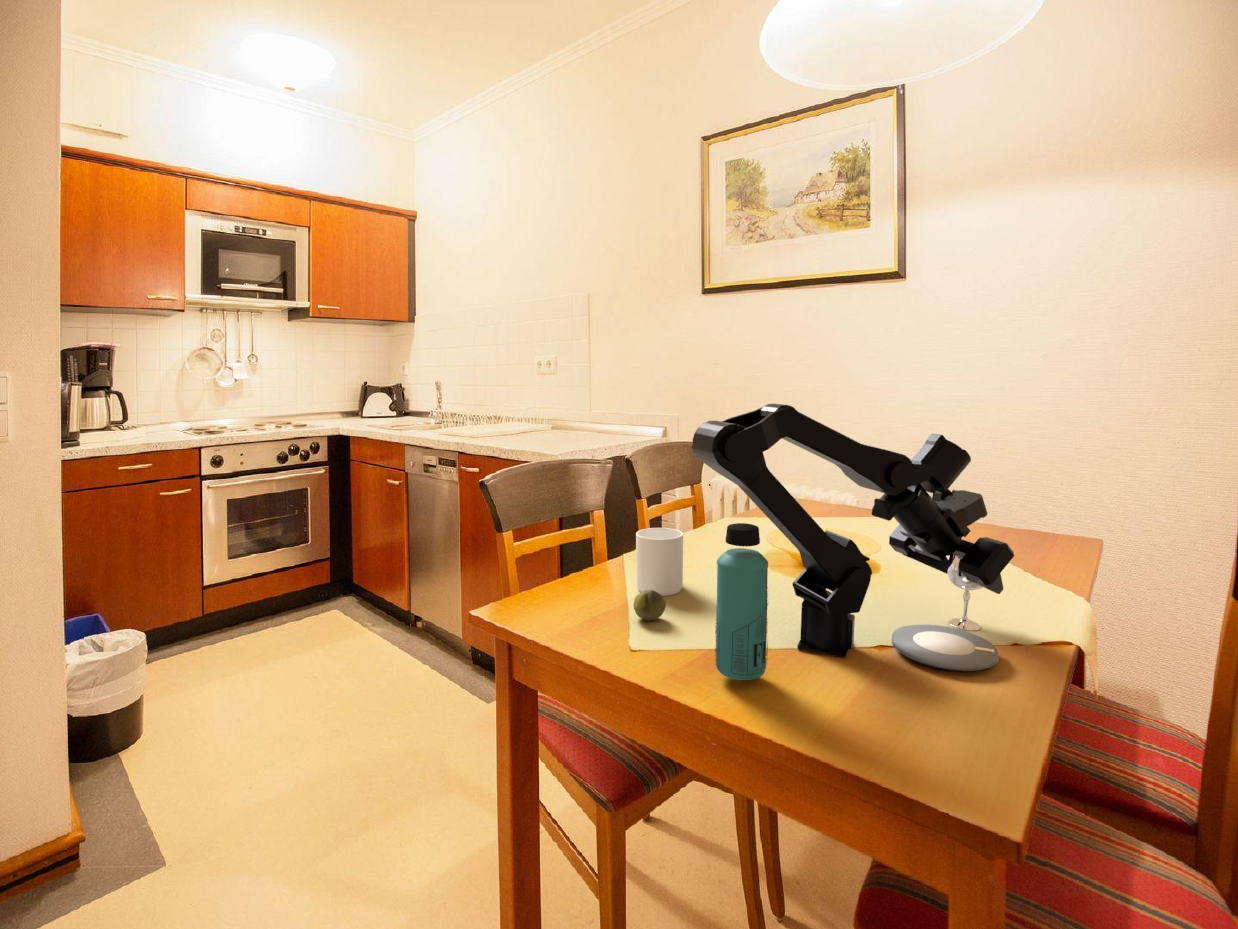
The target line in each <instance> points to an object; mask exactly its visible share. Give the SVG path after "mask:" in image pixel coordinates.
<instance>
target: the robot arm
mask: <svg viewBox="0 0 1238 929" xmlns="http://www.w3.org/2000/svg"><path fill="white" fill-rule="evenodd" d="M780 440H784V441H786V442H788V443H790V444H793V445H795V446H797V447H798V448H801V449H802V450H805V451H807V452H809V453H811V454H813V455H815V456H817V457H819V458H821V459H823V460H825V461H827V462H829V463H832V464H833V465H835V466H836V467H838V468H839V469H840V470H841V471H842V472H843V474H844V476H845V477H847V478H849V479H850V480H851V481H852V482H854V483H855V484H856V485H858V486H859V487H860V488H865V489H869V490H871V491H876V492H879V493H883V494H882V495H881V496H880V498H874V500H873V501H874V502H873V504H874V505H873V507H872V508H871V509H872V510H871V515H872V516H873V517H875V518H879V519H882V520H884V521H885V520H886V521H892V519H893V518H894V519H895V520H896V522H897V523H898V525H897V527H896V528H895V529H894V530H893V531H892V533H890V535H889V537H888V538H889V541H888V545H889V546H890V547H891V548H892V549H893V550H894V551H895V552H896V553H899V554H902V555H903V556H905V557H907V558H909V559H912V560H914V561H916V562H919V563H921V564H923V565H925V566H928V567H930V568H933V569H935V570H938V571H939V572H942V573H944V574H945V575H948V573H947V566H948V560H949V558H947V557H950V555H951V554H954V555H957V556H960V557H963V558H962V559H961V560H960V564H959V571H960V572H961V573H962V574H963V575H964V576H965V577H967V578H966V579H967V580H969V581H971V582H973V583H975V584H977V585H980V586H982V587H983V588H985V589H986V590H988V591H991V592H993V593H995V594H997V595H1000V594H1001V593H1002V592H1003V591H1004V585H1003V584H1004V583H1003V579H1002V575H1001V573H1002V572H1003V570H1004V569H1005V568H1006V567H1007V565H1008V564H1009V563H1010V562H1011V561H1012V560H1013V558H1014V557H1015V552H1014V550H1013V549H1012V547H1010V545H1009V544H1008V543H1007V542H1004V541H1002V540H1001V541H1000V540H998V539H993V538H990V537H987V536H986V537H985V536H984V537H979V538H978V539H977V540H976V541H975V542H971V541H968V540H966V539H965V540H964V539H963V538H966V537H967V536H968V535H969V533H970V532H971V530H970V528H969V526H970V525H972V524H974V523H975V522H977V521H979V520H980V519H983V518H986V517H987V516H988V514H989V513H988V510H987V507H986V504H985V500H984V498H983V494H981V493H978V492H972V491H969V490H964V489H963V490H960V489H959V490H956V489H953V490H950V489H949V488H951V486H952V484H954V482H955V481H956V480H957V479H958V478H959V477H960V475H961V474H962V473H963V472H964V470H965V469H966V468H967V466H968V465H969V464H970V463H971V461H972V458H971V456H970V453H969V452H968V451H967V450H966V449H964V448H962V447H960V445H958V444H956V443H954V442H952V441H950V440H948V439H947V438H946V437H945V436H944V435H943V434H938V433H931V434H930V435H929V436H928V438H927V439H926V440H925V442H924V444H922V446H921V448H920V449H919V450H918V451H917V452H916V454H914V455H913V457H912V458H909V457H908V456H907V455H905V454H903V453H900V452H897V451H893V450H888V449H885V448H884V449H883V448H880V447H875V446H872V445H868V444H864V443H860V442H859V441H857V440H854V439H853V438H850V437H849V436H847V435H845V434H843V433H840V432H839V431H838V430H835V429H833V428H832V427H829V426H827V425H825V424H823V423H821V422H819V421H817V420H815V419H813V418H811V417H810V416H807V415H806V414H804V413H802V412H800V411H798V410H797V409H796V408H795V407H794V406H792V405H788V404H781V403H767V404H765V405H764V406H762V407H759V408H757V409H755V410H752V411H749V412H746V413H742V414H739V415H735V416H732V417H729V418H726V419H724V420H708V421H706V422H703V423H702V424H701V425H699V426H698V427H697V429H696V430H695V432H694V434H693V437H692V445H691V449H692V452H693V454H694V455H695V457H696V458H697V459H698V460H699V461H700V462H702V463H703V464H705V465H706V466H708V468H710V469H712V470H713V471H714V472H716V473H717V474H719V475H720V476H722V477H724V478H725V479H727V480H729V481H730V482H732V483H733V484H735V485H736V486H738V487H739V488H740V490H742V491H743V493H744V494H745V495H746V496H747V498H748V499H750V500H751V501H752V502H753V504H755V505H756V507H758V509H759V510H760V511H761V512H762V513H764V515H765V516H766V517H767V518H768V519H769V520H770V521H771V523H772V524H773V525H774V526H775V527H776V528H777V529H778V530H779V531H780V532H781V534H783V535H784V536H785V538H786V539H787V540H788V541H789V542H790V543H791V544H792V545H793V546H794V547H795V548H796V550H797V551H798V552H799V555H800V558H801V559H800V560H801V563H802V566H803V567H804V569H803V570H802V571H801V572H800V574H799V575H798V576H797V577H796V578H795V580H793V582H792V587H793V591H794V594H795V596H797V597H800V599H803V601H802V603H801V613H800V614H801V615H800V617H801V618H800V639H799V641H798V643H797V645H796V646H797V647H796V648H797V649H798V650H800V651H806V652H812V653H816V654H821V655H827V656H833V657H839V658H847V656H848V652H849V650H851V649H852V648H853V646H854V645H853V644H854V641H855V640H854V638H855V622H856V619H855V618H856V617H855V614H856V613H860V611H861V608H862V606H863V604H864V601H865V598H866V595H867V591H868V589H869V587H870V583H871V578H872V575H873V571H872V567H871V566H870V564H869V563H868V561H870V559H871V558H870V557H868V556H866V555H864V554H863V553H862V552H861V550H860V549H859V547H858V545H857V544H856V542H854V540H853V539H850V538H848V537H845V536H842V535H840V534H837V533H835V532H833V531H830V530H827V529H826V530H825V531H824V529H823V528H822V527H821V526H820V525H819V524H818V523H817V522H816V521H815V520H814V518H812V516H811V515H810V514H809V513H808V512H807V511H806V510H805V508H804V507H803V506H802V505H801V503H799V501H797V500H796V498H795V497H794V496H793V495H792V494H791V493H790V491H788V489H787V488H786V487H785V486H784V485H783V484H782V483H781V482H780V481H779V480H778V478H777V477H776V476H774V474H773V473H772V472H771V471H770V468H768V466H767V462H766V459H765V455H764V452H765V451H767V450H769V449H771V448H772V447H773V446H774V445H776V444H777V443H779V441H780ZM929 493H930V494H932V497H931V495H930V494H929Z"/></svg>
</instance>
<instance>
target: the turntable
mask: <svg viewBox="0 0 1238 929" xmlns="http://www.w3.org/2000/svg"><path fill="white" fill-rule="evenodd" d="M891 645H892V646H893V648H894V649H895V650H896V651H897V652H898V653H900V654H901V655H903V656H905V657H906V658H909V659H911V660H912V661H914V660H915V662H916V661H918V662H920V663H919V664H921V663H923V664H927V665H930V666H934V667H939V668H944V669H950V670H961V671H965V672H972V671H982V670H987V669H989V668H993V667H994V666H995V665H997V663H998V661H999V650H998V648H997V647H996V645H995V644H993V643H992V642H990V641H989V640H987V639H986V638H983V637H981V636H980V635H977V634H974V633H972V632H969V631H967V630H962V629H958V628H955V627H950V626H944V625H936V624H911V625H910V624H909V625H904V626H901V627H898V628H897V629H895V630H894V631H893V632H892V634H891ZM918 662H917V663H918ZM923 664H922V665H923Z"/></svg>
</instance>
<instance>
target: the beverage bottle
mask: <svg viewBox="0 0 1238 929" xmlns="http://www.w3.org/2000/svg"><path fill="white" fill-rule="evenodd" d="M725 533H726V535H725V543H726V544H728V545H731V546H736V547H737V548H729V549H727V550H726V551H724V552H723V553H722V554H721V555H719V557H717V560H716V565H717V566H716V567H717V568H716V572H717V574H716V580H717V581H716V606H715V607H716V608H715V612H716V613H715V621H716V622H715V633H714V634H715V635H714V637H715V639H714V640H715V644H714V648H715V649H714V652H715V655H714V656H715V658H714V660H715V666H716V669H717V671H718V672H719V673H720V674H721V675H722V676H725V677H727V678H729V679H732V680H739V681H750V680H751V681H752V680H755V679H759V678H761V677H762V676H764V674H765V672H766V669H767V664H768V657H767V656H768V651H769V650H768V648H769V645H768V644H769V640H768V635H767V634H768V631H769V630H768V629H769V628H768V624H769V620H768V606H769V604H770V602H769V599H770V598H769V593H770V592H769V590H768V589H769V587H768V578H769V577H768V574H769V573H768V569H769V568H768V567H769V561H768V559H767V558H766V557H765V556H764V555H762V553H760V552H759V551H758V550H755V549H752V548H743V547H755V546H758V545H759V544H761V538H760V527H759V526H758V525H756V524H752V523H742V522H741V523H739V522H736V523H730V524H728V525H727V527H726V532H725ZM738 547H741V548H738ZM768 592H769V593H768ZM768 598H769V599H768Z"/></svg>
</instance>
